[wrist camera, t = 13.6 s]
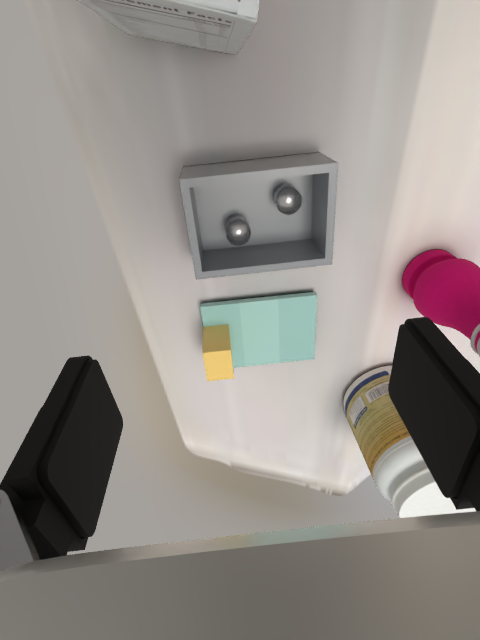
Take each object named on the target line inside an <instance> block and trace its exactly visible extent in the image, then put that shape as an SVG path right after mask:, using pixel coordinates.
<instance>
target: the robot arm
mask: <svg viewBox="0 0 480 640" xmlns="http://www.w3.org/2000/svg"><path fill="white" fill-rule="evenodd" d="M388 392H389V396H390V399H391V401H392V402H393V404H394V406H395V408H396V410H397V412H398V414H399V415H400V417H401V419H402V421H403V423H404V425H405V426H406V428H407V430H408V432H409V434H410V436H411V438H412V439H413V441H414V443H415V445H416V447H417V449H418V450H419V452H420V454H421V456H422V458H423V460H424V462H425V463H426V465H427V467H428V469H429V471H430V473H431V474H432V476H433V478H434V480H435V482H436V484H437V486H438V487H439V489H440V491H441V493H442V494H443V495H444V497H446V498H450V499H451V501H452V502H453V504H454V506H455V508H456V510H459V509H468V508H475V510H476V511H475V512H463V513H451V514H439V515H427V516H416V517H406V518H397V519H388V520H377V521H367V522H358V523H348V524H338V525H329V526H319V527H310V528H301V529H291V530H283V531H282V530H281V531H272V532H263V533H254V534H244V535H235V536H226V537H217V538H208V539H199V540H191V541H181V542H172V543H163V544H155V545H146V546H138V547H128V548H120V549H112V550H104V551H97V552H89V553H82V554H74V555H67V552H68V551H78V550H85V547H86V543H87V540H88V537H91V536H92V535H93V534H94V532H95V529H96V525H97V522H98V518H99V514H100V510H101V507H102V503H103V499H104V495H105V492H106V488H107V484H108V481H109V477H110V473H111V470H112V466H113V462H114V458H115V455H116V451H117V447H118V443H119V440H120V436H121V432H122V428H123V419H122V416H121V414H120V411H119V409H118V407H117V404H116V402H115V400H114V397H113V395H112V393H111V390H110V388H109V386H108V383H107V381H106V379H105V376H104V374H103V372H102V369H101V367H100V365H99V363H98V361H97V360H92V358H91V357H90V356H81V357H73V358H69V359H68V360H67V362H66V363H65V365H64V367H63V369H62V371H61V373H60V375H59V377H58V379H57V381H56V382H55V385H54V386H53V388H52V390H51V392H50V394H49V396H48V398H47V400H46V402H45V403H44V405H43V407H42V408H41V409H40V411H39V412H38V414H37V416H36V418H35V420H34V422H33V424H32V426H31V428H30V429H29V431H28V433H27V435H26V437H25V439H24V441H23V443H22V445H21V446H20V448H19V450H18V452H17V454H16V456H15V458H14V460H13V461H12V463H11V465H10V467H9V469H8V471H7V473H6V475H5V476H4V479H3V480H2V482H1V484H0V640H480V373H479V372H478V371H477V370H476V369H475V368H474V367H473V366H472V364H471V363H470V362H469V361H468V360H466V359H465V358H464V357H463V356H462V354H461V353H460V352H459V351H458V350H457V349H456V348H455V347H454V345H453V344H452V343H451V342H450V341H449V340H448V339H447V338H446V336H445V335H444V334H443V333H442V332H441V331H440V330H439V328H438V327H437V326H436V325H435V324H434V323H433V322H432V321H431V319H429V318H428V317H421V318H413V319H407V320H406V321H405V324H402V325H400V327H399V332H398V337H397V342H396V348H395V353H394V359H393V364H392V369H391V375H390V380H389V386H388Z"/></svg>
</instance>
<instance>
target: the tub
mask: <svg viewBox="0 0 480 640" xmlns="http://www.w3.org/2000/svg"><path fill="white" fill-rule="evenodd" d="M337 172H338V162H336V161H334V160H332V159H331V158H329V157H327V156H325V155H323V154H322V153H320V152H315V153H306V154H296V155H287V156H277V157H268V158H259V159H249V160H240V161H231V162H221V163H212V164H202V165H193V166H184V167H183V169H182V172H181V175H180V178H179V183H180V189H181V195H182V201H183V206H184V212H185V218H186V224H187V230H188V236H189V242H190V247H191V253H192V259H193V265H194V271H195V277H196V279H205V278H214V277H223V276H232V275H241V274H250V273H259V272H268V271H277V270H286V269H295V268H304V267H313V266H322V265H331V264H332V258H333V241H334V224H335V206H336V189H337ZM281 183H290V184H292V185H293V186H294V187H295V188H296V189H297V191H298V192H299V193H300V194H301V197H302V204H301V207H300V209H299V210H298V211H297V212H296V213H294V214H291V215H285V214H283V213H281V212H280V211H279V210H278V208H277V206H276V205H275V203H274V201H273V191H274V189H275V188H276V187H277V186H278V185H279V184H281ZM233 214H241V215H243V216H244V217H245V218H246V219H247V221H248V224H249V227H250V230H251V236H250V239H249V240H248V242H247V243H245V244H243V245H240V246H237V245H233V244H231V243H230V242H229V241H228V239H227V236H226V230H225V223H226V220H227V219H228V217H229V216H231V215H233Z"/></svg>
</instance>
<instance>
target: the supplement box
mask: <svg viewBox="0 0 480 640" xmlns="http://www.w3.org/2000/svg"><path fill="white" fill-rule="evenodd" d="M77 1H79V2H80V3H82V4H84V5H86V6H87V7H89V8H91V9H93V10H94V11H95V12H96V13H98V14H99V15H100V16H101V17H103V18H104V19H106V20H107V21H109V22H110V23H112V24H113V25H115V26H117V27H118V28H119V29H121V30H123V31H124V32H125V33H127V34H130V35H134V36H138V37H143V38H147V39H153V40H158V41H163V42H169V43H174V44H179V45H185V46H190V47H195V48H200V49H206V50H211V51H217V52H222V53H228V54H238V52H239V50H240V49H241V47H242V45H243V44H244V42H245V40H246V39H247V37H248V36H249V34H250V32H251V31H252V29H253V28H254V26H255V25H256V23H257V18H258V11H259V3H260V0H77Z"/></svg>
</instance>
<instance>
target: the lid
mask: <svg viewBox="0 0 480 640" xmlns="http://www.w3.org/2000/svg"><path fill="white" fill-rule="evenodd" d="M316 308H317V294H316V292H308V293H298V294H289V295H279V296H270V297H260V298H250V299H241V300H231V301H221V302H212V303H202V304H200V310H201V316H202V322H203V358H204V364H205V370H206V376H207V381H213V380H223V379H232V378H234V371H233V368H235V367H245V366H254V365H263V364H273V363H282V362H291V361H301V360H310V359H314V353H315V330H316Z"/></svg>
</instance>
